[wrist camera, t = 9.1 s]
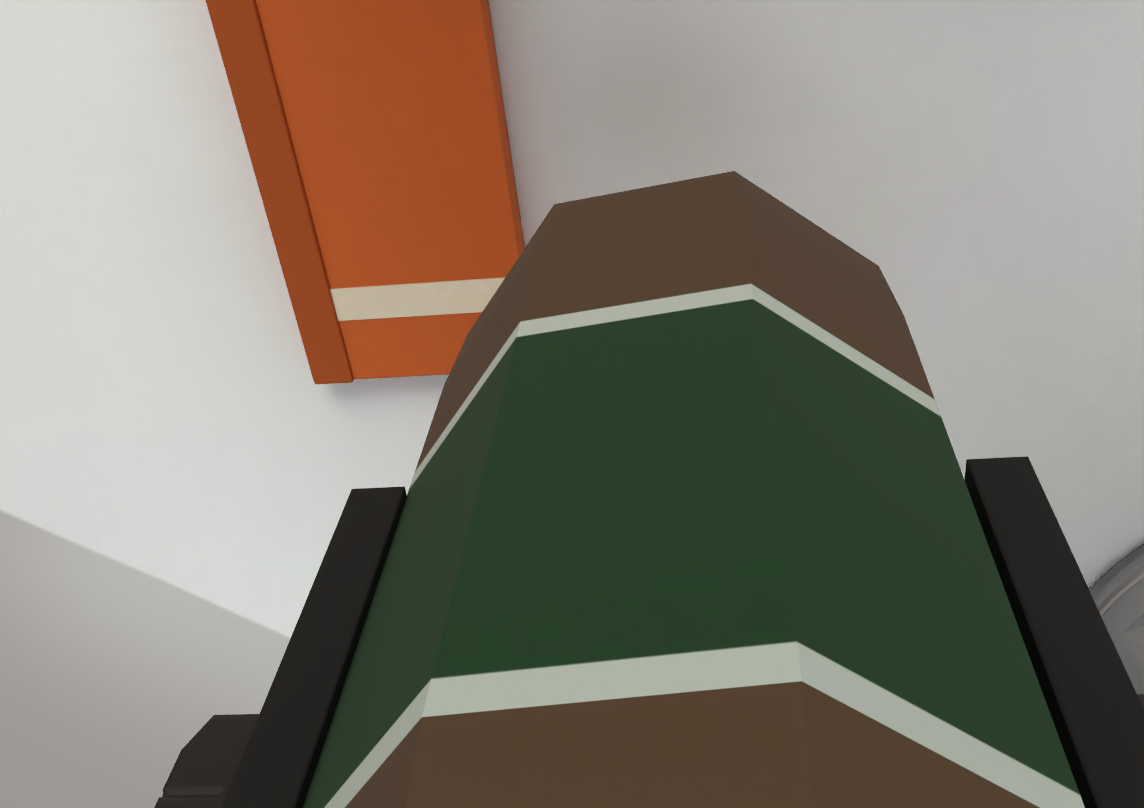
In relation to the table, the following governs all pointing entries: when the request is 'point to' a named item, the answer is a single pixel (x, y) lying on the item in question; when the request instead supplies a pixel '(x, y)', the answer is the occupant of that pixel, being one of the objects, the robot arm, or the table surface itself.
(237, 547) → the table surface
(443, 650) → the beer bottle
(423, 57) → the towel
